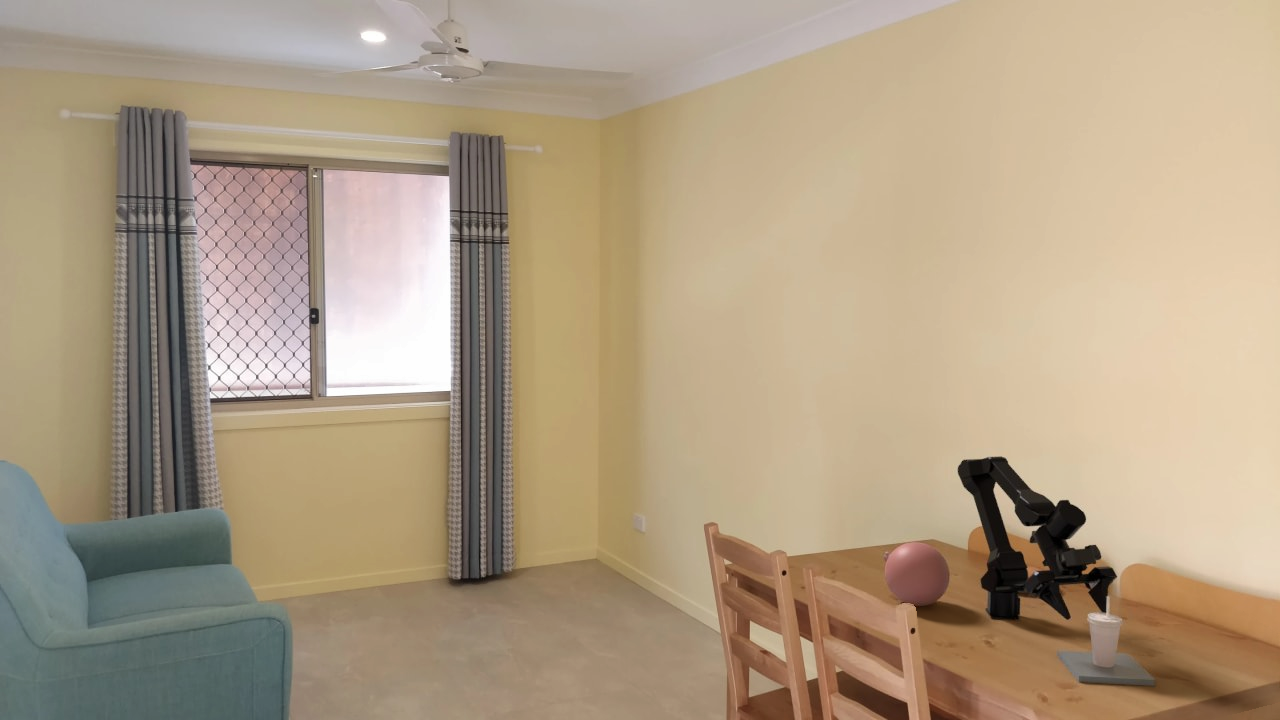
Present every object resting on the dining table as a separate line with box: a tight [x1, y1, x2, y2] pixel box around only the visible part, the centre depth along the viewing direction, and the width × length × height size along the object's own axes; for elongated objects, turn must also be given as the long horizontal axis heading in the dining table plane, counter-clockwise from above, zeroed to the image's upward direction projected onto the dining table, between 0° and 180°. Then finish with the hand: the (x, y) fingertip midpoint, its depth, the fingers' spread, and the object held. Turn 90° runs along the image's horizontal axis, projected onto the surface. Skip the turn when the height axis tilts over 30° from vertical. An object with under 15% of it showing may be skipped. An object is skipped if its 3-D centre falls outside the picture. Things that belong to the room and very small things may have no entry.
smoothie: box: [1087, 595, 1123, 668], centre depth 189 cm, size 6×6×14 cm
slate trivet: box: [1056, 649, 1156, 687], centre depth 190 cm, size 14×14×1 cm
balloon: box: [883, 541, 951, 607], centre depth 234 cm, size 15×20×15 cm
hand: (1088, 617), depth 194 cm, fingers open, 9 cm apart
